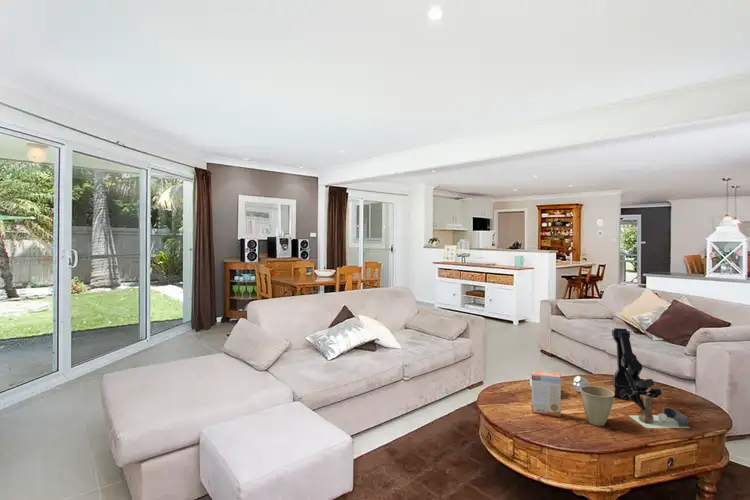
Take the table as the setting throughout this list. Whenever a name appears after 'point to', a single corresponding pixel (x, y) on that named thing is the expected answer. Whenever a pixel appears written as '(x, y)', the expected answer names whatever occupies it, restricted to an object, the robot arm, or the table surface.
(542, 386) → the cracker box
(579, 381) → the shiny silver sphere
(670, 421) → the pitch
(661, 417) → the ball
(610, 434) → the table surface
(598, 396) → the plant pot
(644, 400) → the block
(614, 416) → the table surface
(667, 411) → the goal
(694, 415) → the table surface
